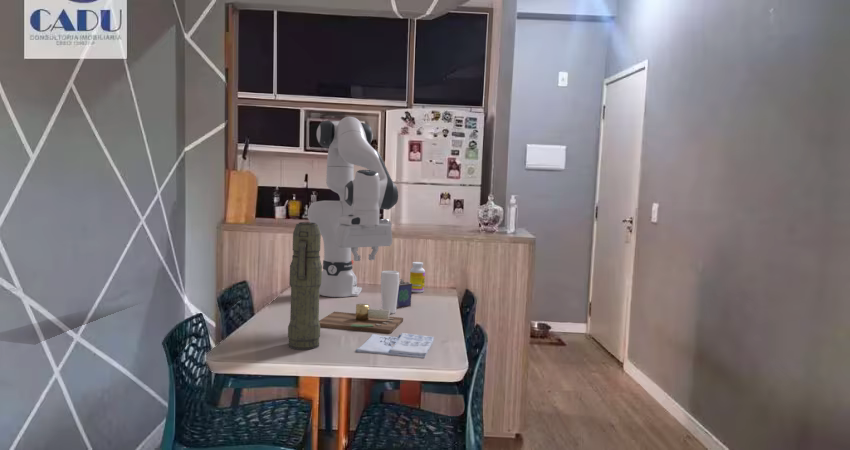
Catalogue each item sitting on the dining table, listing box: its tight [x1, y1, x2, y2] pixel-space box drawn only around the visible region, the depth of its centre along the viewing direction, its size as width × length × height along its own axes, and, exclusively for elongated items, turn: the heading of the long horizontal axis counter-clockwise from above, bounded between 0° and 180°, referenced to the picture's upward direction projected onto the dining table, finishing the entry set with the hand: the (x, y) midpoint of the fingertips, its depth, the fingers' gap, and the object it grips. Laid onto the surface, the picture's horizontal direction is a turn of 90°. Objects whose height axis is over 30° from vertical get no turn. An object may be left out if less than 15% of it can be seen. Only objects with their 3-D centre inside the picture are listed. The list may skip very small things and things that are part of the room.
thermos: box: [287, 221, 323, 351], centre depth 159 cm, size 9×12×35 cm
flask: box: [396, 278, 413, 309], centre depth 216 cm, size 9×3×11 cm, turn 134°
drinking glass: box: [380, 270, 401, 315], centre depth 205 cm, size 7×7×15 cm
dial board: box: [319, 311, 404, 334], centre depth 187 cm, size 18×25×2 cm
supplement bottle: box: [409, 261, 426, 294], centre depth 248 cm, size 7×7×13 cm
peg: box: [355, 303, 391, 321], centre depth 188 cm, size 11×4×5 cm, turn 79°
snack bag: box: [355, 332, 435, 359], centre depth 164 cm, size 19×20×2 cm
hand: (364, 260), depth 187 cm, fingers open, 4 cm apart
